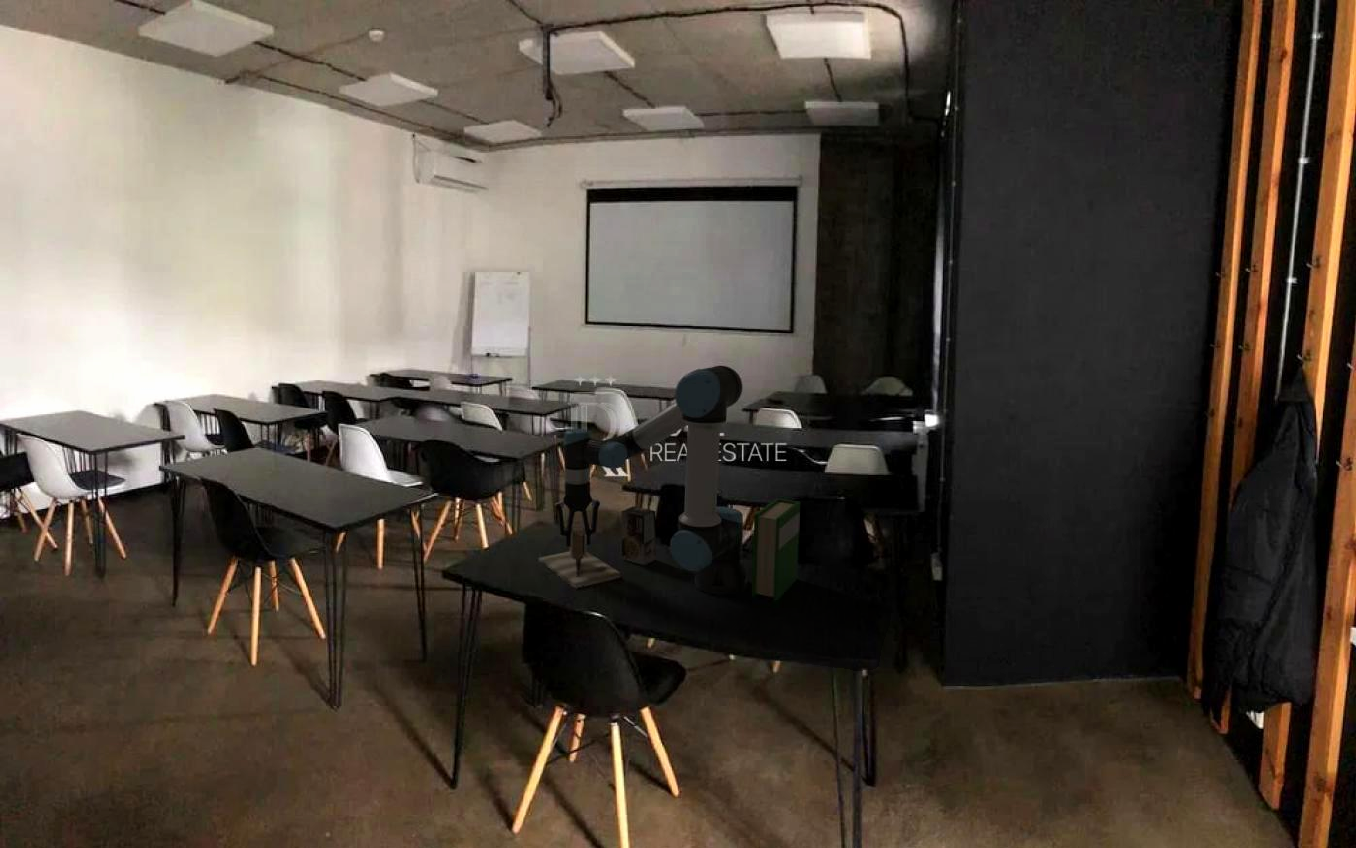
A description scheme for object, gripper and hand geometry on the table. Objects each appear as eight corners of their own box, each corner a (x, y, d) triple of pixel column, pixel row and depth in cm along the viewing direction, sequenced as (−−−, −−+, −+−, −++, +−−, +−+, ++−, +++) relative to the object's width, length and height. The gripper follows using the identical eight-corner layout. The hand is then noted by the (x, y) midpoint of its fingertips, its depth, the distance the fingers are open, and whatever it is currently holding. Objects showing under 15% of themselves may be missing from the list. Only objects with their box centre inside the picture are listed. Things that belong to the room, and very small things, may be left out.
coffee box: (656, 559, 243) (656, 510, 240) (644, 565, 238) (644, 515, 234) (632, 553, 248) (633, 505, 245) (620, 559, 242) (620, 510, 239)
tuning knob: (573, 559, 237) (573, 528, 235) (583, 559, 237) (583, 527, 235) (573, 575, 225) (572, 542, 223) (583, 575, 225) (582, 541, 223)
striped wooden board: (620, 577, 228) (620, 571, 228) (575, 588, 220) (575, 582, 219) (581, 553, 248) (581, 547, 247) (538, 562, 239) (538, 557, 239)
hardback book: (776, 601, 213) (779, 518, 209) (751, 595, 217) (754, 514, 212) (796, 579, 229) (800, 501, 224) (773, 574, 232) (776, 498, 227)
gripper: (602, 476, 234) (603, 549, 238) (548, 479, 230) (549, 553, 234) (606, 482, 227) (607, 558, 231) (550, 486, 223) (552, 562, 227)
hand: (578, 555), depth 233 cm, fingers closed on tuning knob, 3 cm apart
